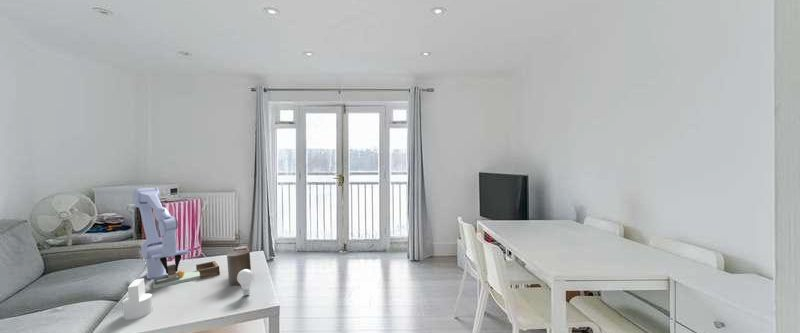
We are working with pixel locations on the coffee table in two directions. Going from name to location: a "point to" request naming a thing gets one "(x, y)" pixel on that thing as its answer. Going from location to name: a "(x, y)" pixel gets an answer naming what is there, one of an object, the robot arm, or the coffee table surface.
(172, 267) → the block
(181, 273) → the ball
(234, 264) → the pillar candle
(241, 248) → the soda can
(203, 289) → the coffee table surface
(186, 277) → the plate
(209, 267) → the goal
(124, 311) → the cylinder with rectangular tab
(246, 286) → the lightbulb
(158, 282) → the rail
